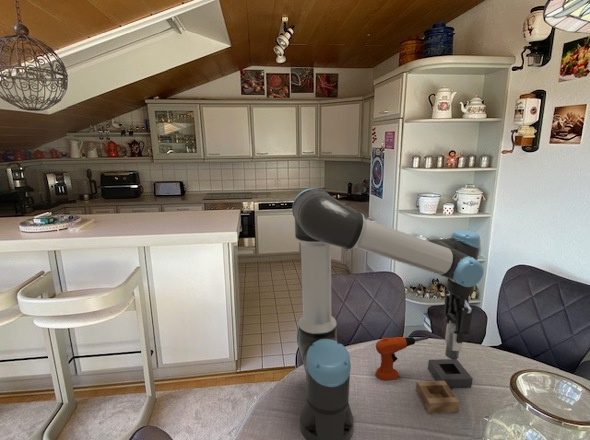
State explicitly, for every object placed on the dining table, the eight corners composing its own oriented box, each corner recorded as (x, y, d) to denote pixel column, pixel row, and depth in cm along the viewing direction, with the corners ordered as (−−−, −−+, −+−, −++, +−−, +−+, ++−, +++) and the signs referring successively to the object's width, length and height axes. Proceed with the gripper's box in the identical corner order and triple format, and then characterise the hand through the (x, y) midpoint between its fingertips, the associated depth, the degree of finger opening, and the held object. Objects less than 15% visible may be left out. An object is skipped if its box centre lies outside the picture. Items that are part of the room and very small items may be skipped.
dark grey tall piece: (444, 360, 110) (449, 318, 107) (438, 351, 115) (442, 311, 111) (465, 359, 110) (471, 317, 107) (458, 350, 115) (463, 310, 111)
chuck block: (441, 388, 109) (442, 379, 109) (427, 368, 119) (428, 359, 118) (471, 387, 110) (472, 378, 109) (455, 367, 120) (456, 358, 119)
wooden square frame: (428, 413, 100) (429, 403, 99) (416, 391, 108) (417, 381, 108) (458, 411, 100) (459, 401, 99) (443, 390, 109) (444, 380, 108)
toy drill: (432, 372, 115) (431, 334, 111) (379, 383, 113) (376, 344, 109) (425, 363, 119) (424, 326, 116) (373, 373, 118) (371, 336, 114)
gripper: (489, 291, 98) (479, 361, 104) (458, 269, 115) (451, 331, 120) (463, 291, 98) (455, 362, 103) (436, 269, 114) (430, 331, 120)
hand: (452, 345), depth 112 cm, fingers closed on dark grey tall piece, 4 cm apart
